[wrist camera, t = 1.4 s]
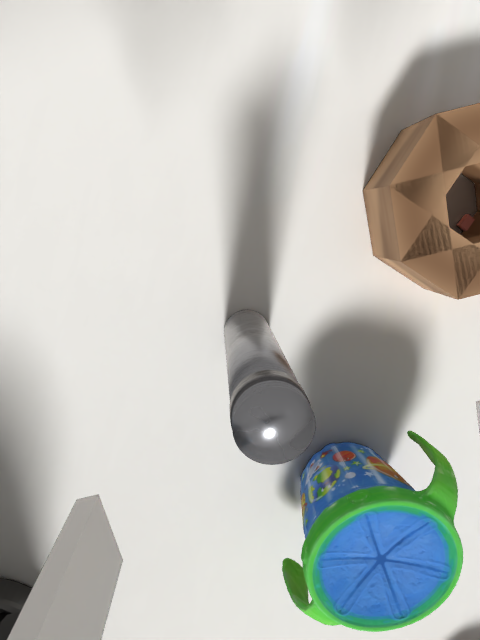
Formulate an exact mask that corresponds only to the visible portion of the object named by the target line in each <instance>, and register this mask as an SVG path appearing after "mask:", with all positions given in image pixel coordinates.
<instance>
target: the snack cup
mask: <svg viewBox="0 0 480 640" xmlns="http://www.w3.org/2000/svg"><path fill="white" fill-rule="evenodd" d="M407 433H408V436H409V437H410V438H411V439H412V440H413V441H415V442H416V443H418V444H419V445H420V447H421V448H422V449H423V451H424V452H425V453H426V455H427V456H428V457H429V459H430V460H431V461H432V462H433V464H434V465H435V471H434V475H433V478H432V481H431V483H430V485H429V486H428V487H427V488H426V489H424V490H422V491H415V490H414V489H413V488H412V487H411V486H410V485H409V484H408V483H407V482H406V481H405V480H404V479H403V478H402V477H401V476H400V475H399V474H398V473H397V472H396V471H395V470H394V469H393V468H392V467H391V466H390V465H388V464H387V463H386V462H385V461H384V460H383V459H382V458H381V457H380V456H379V455H378V454H376V453H375V452H374V451H373V450H372V449H370V448H369V447H367V446H366V447H365V446H363V445H360V444H356V443H351V442H343V443H338V444H336V443H331V444H329V445H327V446H325V447H324V448H323V449H322V450H321V451H319V452H317V453H315V454H314V455H313V456H312V458H311V459H310V461H309V462H308V464H307V465H306V468H305V469H304V471H303V473H302V475H301V491H300V492H301V505H302V517H303V529H304V534H305V541H304V544H303V547H302V554H301V559H302V561H303V568H302V567H301V566H300V565H299V564H298V563H297V562H295V561H294V560H292V559H289V558H286V559H284V560H283V567H282V571H283V576H284V580H285V583H286V586H287V589H288V592H289V594H290V596H291V598H292V600H293V602H294V603H295V605H296V606H297V607H298V608H299V609H300V610H301V611H303V612H304V613H305V614H306V615H308V616H310V617H311V618H313V619H315V620H317V621H319V622H321V623H323V624H325V625H332V626H333V625H340V624H341V625H344V626H346V627H349V628H352V629H356V630H360V631H372V632H378V631H388V630H393V629H397V628H401V627H404V626H407V625H410V624H413V623H415V622H417V621H419V620H421V619H423V618H424V617H426V616H428V615H429V614H430V613H432V612H433V611H434V610H436V609H437V608H438V607H439V606H440V605H441V604H442V603H443V602H444V601H445V600H446V599H447V598H448V597H449V595H450V594H451V592H452V590H453V589H454V587H455V586H456V583H457V581H458V579H459V576H460V573H461V569H462V563H463V549H462V544H461V540H460V537H459V535H458V533H457V531H456V529H455V527H454V521H453V519H454V515H455V511H456V507H457V497H458V495H457V493H458V489H457V483H456V478H455V475H454V472H453V469H452V467H451V465H450V463H449V462H448V460H447V459H446V457H445V456H444V455H443V454H441V453H440V452H439V451H438V450H437V449H436V448H434V447H433V446H432V445H431V444H429V443H428V442H427V441H426V440H425V439H423V438H422V437H420V436H419V435H418V434H416V433H414V432H412V431H408V432H407ZM308 590H309V592H310V595H311V597H312V601H311V603H310V604H309V602H308Z"/></svg>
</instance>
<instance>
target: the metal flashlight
mask: <svg viewBox="0 0 480 640" xmlns="http://www.w3.org/2000/svg"><path fill="white" fill-rule="evenodd" d="M224 337H225V349H226V360H227V372H228V383H229V395H230V419H231V426H232V430H233V436H234V440H235V442H236V444H237V446H238V448H239V449H240V450H241V451H242V452H243V454H245V455H246V456H247V457H248V458H250V459H252V460H254V461H256V462H259V463H262V464H270V465H274V464H282V463H285V462H288V461H291V460H293V459H295V458H296V457H298V456H299V455H301V454H302V453H303V452H304V451H305V450H306V449H307V447H308V446H309V445H310V443H311V441H312V439H313V436H314V433H315V416H314V413H313V410H312V408H311V405H310V402H309V400H308V398H307V396H306V394H305V392H304V390H303V388H302V387H301V385H300V384H299V383H298V381H297V379H296V377H295V375H294V373H293V371H292V369H291V368H290V366H289V364H288V362H287V360H286V358H285V356H284V354H283V352H282V350H281V348H280V346H279V344H278V342H277V340H276V339H275V337H274V335H273V333H272V331H271V329H270V327H269V325H268V323H267V321H266V320H265V318H264V317H263V316H262V315H261V314H259V313H258V312H256V311H252V310H241V311H238V312H236V313H235V314H233V315H232V316H231V317H230V318H229V319H228V320H227V322H226V325H225V328H224Z"/></svg>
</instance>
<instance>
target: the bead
mask: <svg viewBox="0 0 480 640" xmlns="http://www.w3.org/2000/svg"><path fill="white" fill-rule="evenodd" d="M460 173H461V174H463V175H464V176H465V177H467V178H468V179H469V180H471V181H472V182H474V183H475V193H476V203H477V212H476V213H475V215H474V216H473V218H474V219H475V220H474V222H473V223H472V224H471V226H470V227H469V229H468V230H467V231H463V232H462V233H461V234H458V233H457V232H455V231H454V230H453V229H451V228H450V227H449V219H448V211H447V202H446V194H447V193H448V191H449V190H450V188H451V187H452V185H453V184H454V182H455V181H456V179H457V178H458V176H459V175H460ZM363 195H364V201H365V207H366V213H367V220H368V226H369V232H370V238H371V244H372V250H373V256H375V257H376V258H378V259H379V260H381V261H382V262H384V263H385V264H387V265H389V266H390V267H392V268H393V269H395V270H396V271H398V272H399V273H401V274H402V275H404V276H405V277H407V278H408V279H410V280H412V281H413V282H415V283H416V284H418V285H419V286H421V287H422V288H424V289H427V290H430V291H433V292H436V293H439V294H442V295H446V296H449V297H452V298H455V299H462V298H466V297H470V296H474V295H478V294H480V103H478V104H474V105H469V106H465V107H461V108H457V109H453V110H449V111H445V112H441V113H437V114H434V115H432V116H430V117H428V118H426V119H424V120H422V121H420V122H418V123H416V124H414V125H411V126H409V127H407V128H405V129H403V130H401V132H400V134H399V135H398V137H397V138H396V140H395V141H394V143H393V144H392V146H391V148H390V149H389V151H388V152H387V154H386V155H385V157H384V158H383V160H382V162H381V163H380V165H379V166H378V168H377V169H376V171H375V173H374V174H373V176H372V177H371V179H370V180H369V182H368V183H367V185H366V187H365V188H364V190H363Z"/></svg>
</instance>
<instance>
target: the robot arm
mask: <svg viewBox="0 0 480 640" xmlns="http://www.w3.org/2000/svg"><path fill="white" fill-rule="evenodd" d="M476 406H477V415H478V424H479V433H480V401H477V402H476ZM122 562H123V559H122V556H121V554H120V551H119V548H118V546H117V543H116V540H115V537H114V535H113V532H112V529H111V527H110V524H109V521H108V519H107V516H106V513H105V510H104V508H103V505H102V502H101V500H100V497H99V494H98V495H94V496H89V497H85V498H81V499H77V500H76V502H75V504H74V506H73V508H72V510H71V512H70V514H69V516H68V518H67V520H66V522H65V524H64V526H63V528H62V530H61V532H60V534H59V536H58V538H57V540H56V542H55V544H54V546H53V548H52V550H51V552H50V554H49V556H48V558H47V560H46V562H45V564H44V566H43V568H42V570H41V572H40V574H39V576H38V578H37V580H36V582H35V584H34V586H33V588H30V587H28V586H25V585H23V584H21V583H18V582H15V581H11V580H7V579H3V578H0V640H101V638H102V635H103V631H104V627H105V624H106V620H107V616H108V613H109V609H110V606H111V602H112V598H113V595H114V591H115V587H116V584H117V580H118V576H119V573H120V569H121V565H122Z"/></svg>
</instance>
